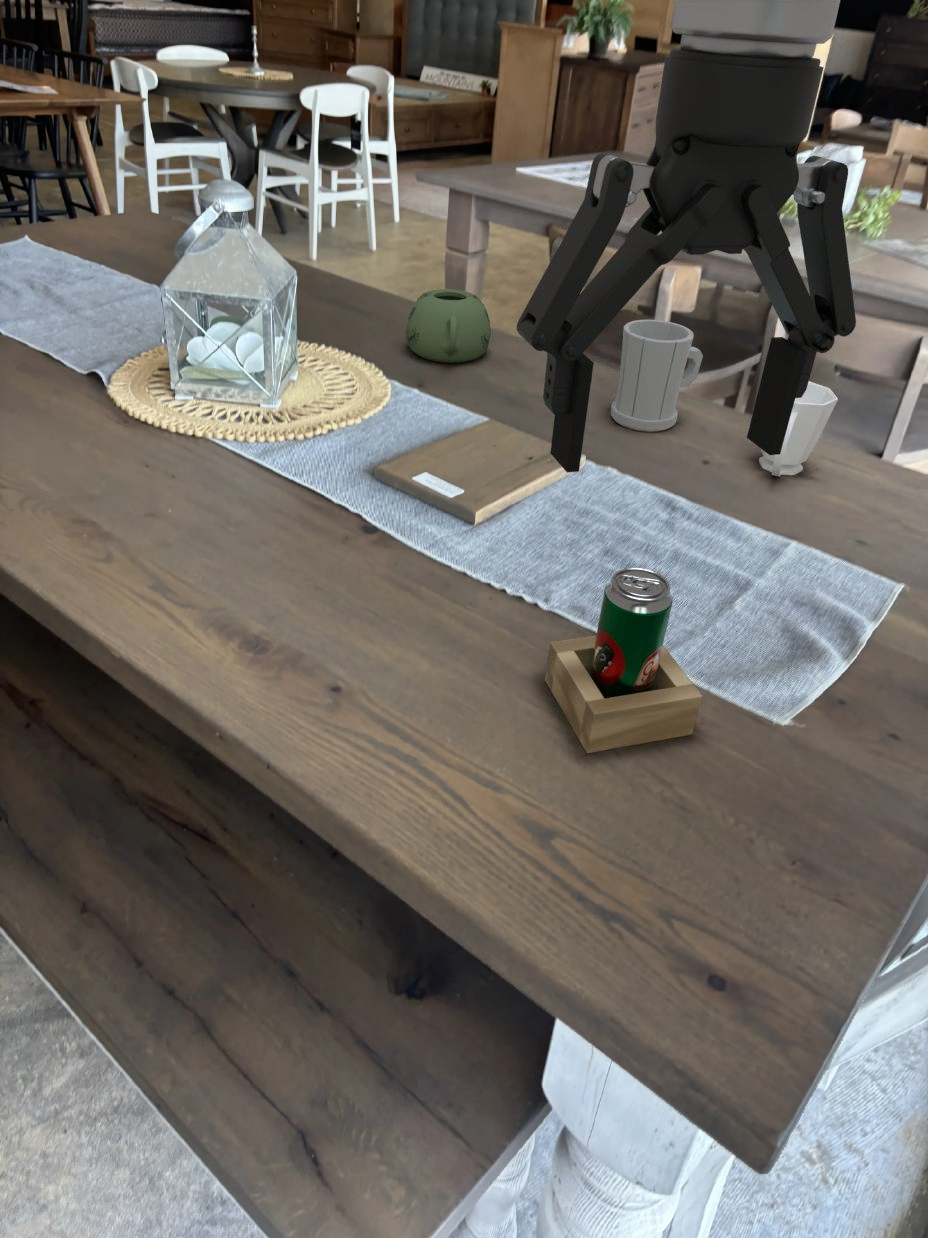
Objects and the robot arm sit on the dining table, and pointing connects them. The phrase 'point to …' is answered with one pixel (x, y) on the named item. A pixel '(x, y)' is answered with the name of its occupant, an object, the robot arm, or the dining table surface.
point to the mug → (448, 326)
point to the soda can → (630, 632)
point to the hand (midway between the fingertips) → (666, 454)
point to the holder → (619, 700)
